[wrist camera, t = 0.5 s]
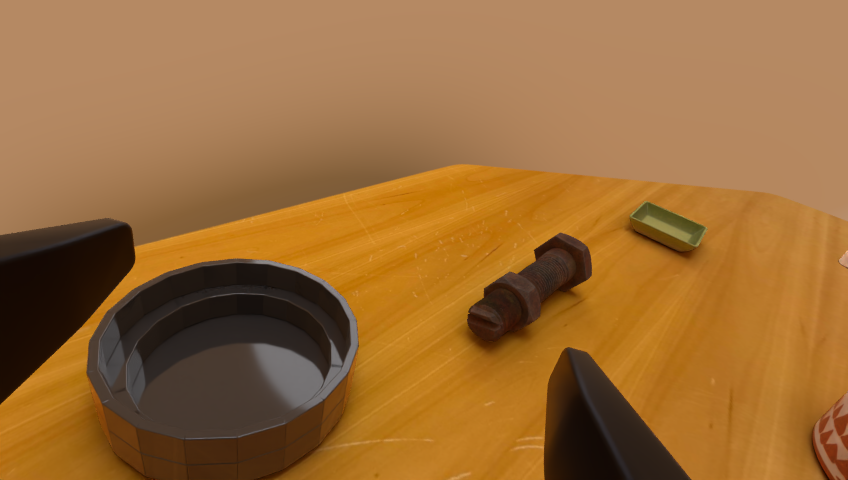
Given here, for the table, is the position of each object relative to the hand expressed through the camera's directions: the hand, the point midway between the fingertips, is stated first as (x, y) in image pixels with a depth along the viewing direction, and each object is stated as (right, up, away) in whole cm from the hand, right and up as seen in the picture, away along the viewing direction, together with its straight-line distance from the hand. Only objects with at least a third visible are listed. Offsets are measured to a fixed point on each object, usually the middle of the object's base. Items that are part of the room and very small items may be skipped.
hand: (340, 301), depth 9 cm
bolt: (+10, -5, +32) cm, 34 cm away
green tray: (+34, +2, +53) cm, 63 cm away
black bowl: (-10, -8, +19) cm, 23 cm away
